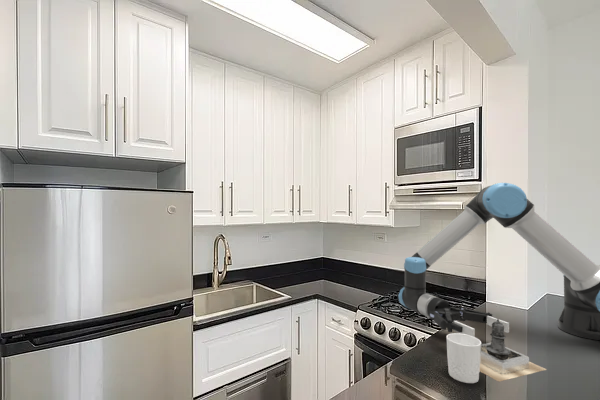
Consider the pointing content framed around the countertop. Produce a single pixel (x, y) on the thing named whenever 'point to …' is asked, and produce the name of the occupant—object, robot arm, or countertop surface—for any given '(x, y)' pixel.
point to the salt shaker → (498, 342)
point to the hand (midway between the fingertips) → (491, 330)
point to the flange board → (499, 377)
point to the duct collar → (504, 361)
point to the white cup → (463, 357)
